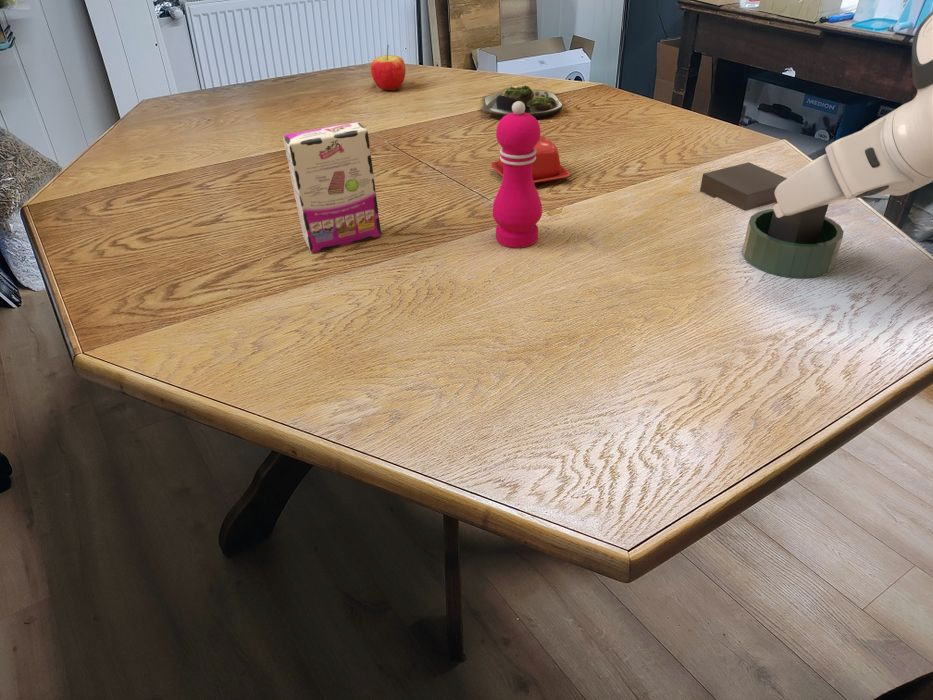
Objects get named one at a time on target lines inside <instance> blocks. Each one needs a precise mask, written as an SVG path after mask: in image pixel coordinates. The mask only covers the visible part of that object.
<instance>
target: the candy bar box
mask: <svg viewBox="0 0 933 700" xmlns="http://www.w3.org/2000/svg"><path fill="white" fill-rule="evenodd" d="M282 141H283V145H284V149H285V155H286V159H287V164H288V168H289V175H290V179H291V184H292V189H293V194H294V198H295V203H296V208H297V213H298V218H299V223H300V228H301V233H302V238H303V241H304V242H305V244H306V245H307V247H308V249H309V251H310V253H311V254H314V253H317V252H322V251H326V250H331V249H335V248H336V249H337V248H340V247H344V246H347V245H352V244H357V243H360V242H364V241H368V240H372V239H373V240H374V239H376V238H379V237H380V238H381V237H382V230H381V229H382V228H381V222H380V221H381V220H380V214H379V207H378V199H377V191H376V185H375V176H374V175H375V174H374V168H373V160H372V154H371V146H370V138H369V131H368V128H366V127H365V126H363V124H361V123H360V122H359V121H353V122H347V123H340V124H334V125H329V126H324V127H319V128H314V129H309V130H304V131H297V132H293V133H292V132H291V133H287V134H282Z"/></svg>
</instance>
